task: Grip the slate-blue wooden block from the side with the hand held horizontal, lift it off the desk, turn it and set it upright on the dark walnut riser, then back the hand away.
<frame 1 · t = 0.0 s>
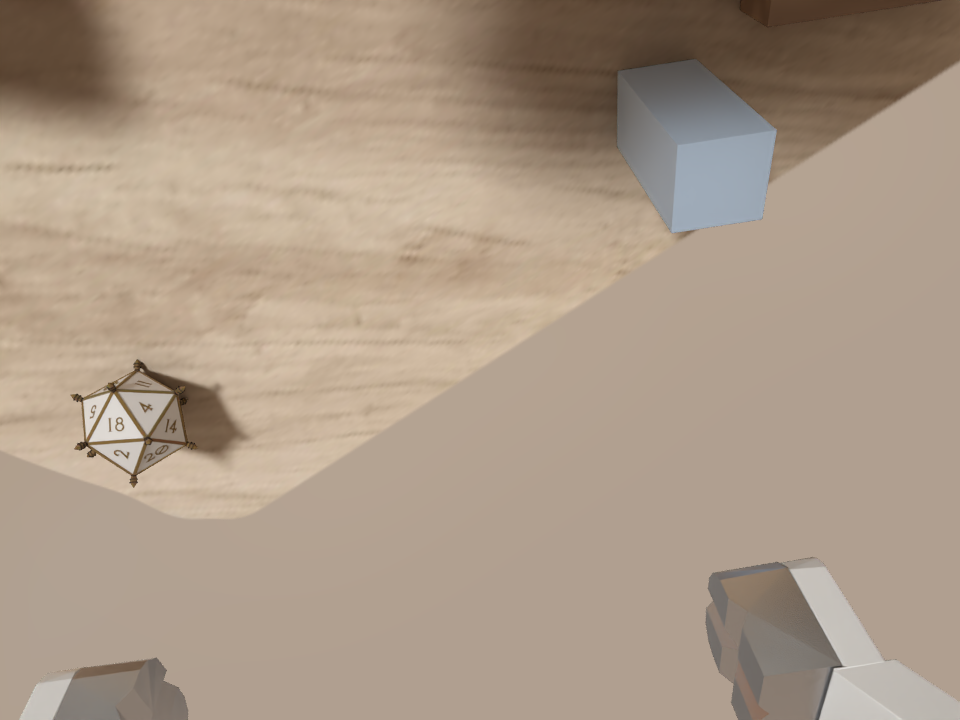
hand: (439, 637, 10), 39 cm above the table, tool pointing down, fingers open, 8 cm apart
slate block: (654, 104, 45), on the table
game die: (150, 386, 56), on the table
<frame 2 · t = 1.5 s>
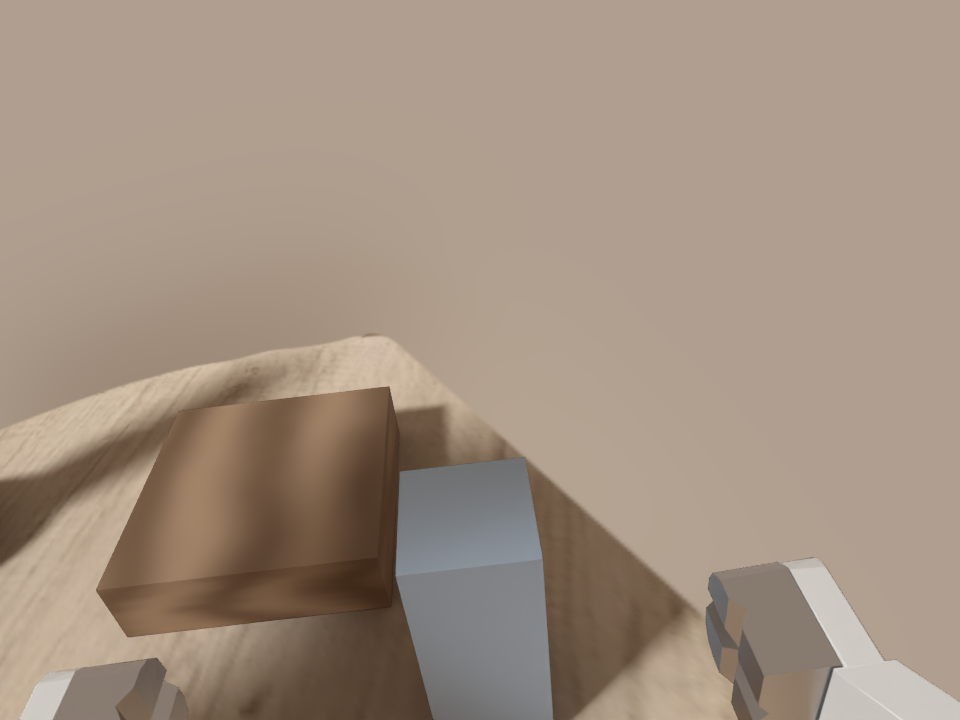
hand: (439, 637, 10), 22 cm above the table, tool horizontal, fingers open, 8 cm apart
slate block: (493, 687, 32), on the table
walnut riser: (281, 520, 42), on the table
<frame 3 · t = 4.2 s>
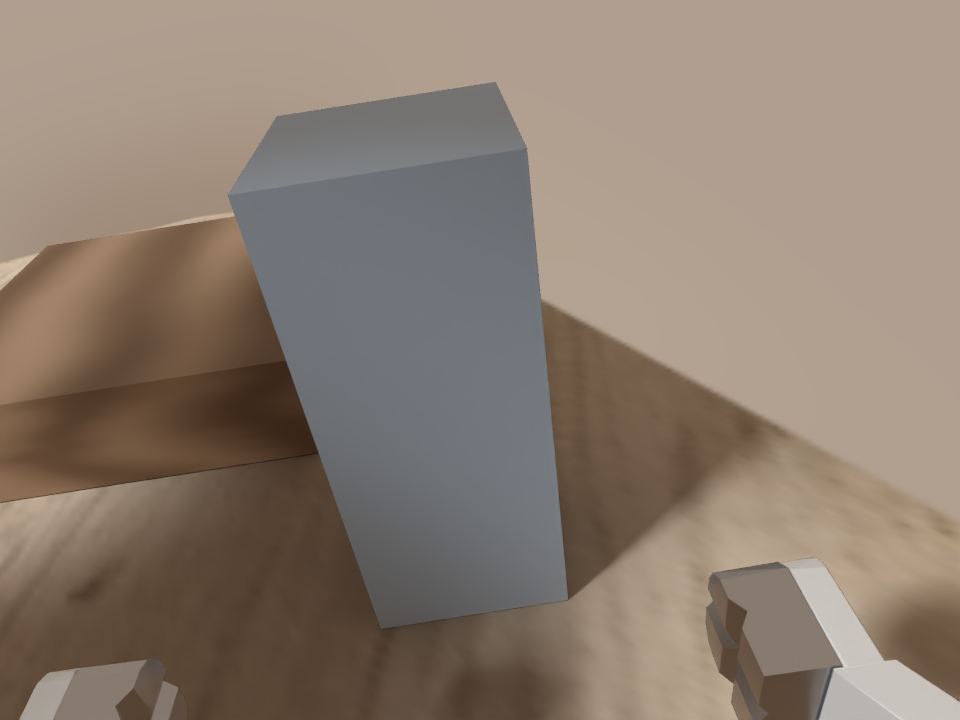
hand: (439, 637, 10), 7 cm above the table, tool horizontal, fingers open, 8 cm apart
slate block: (467, 541, 20), on the table
walnut riser: (178, 370, 30), on the table
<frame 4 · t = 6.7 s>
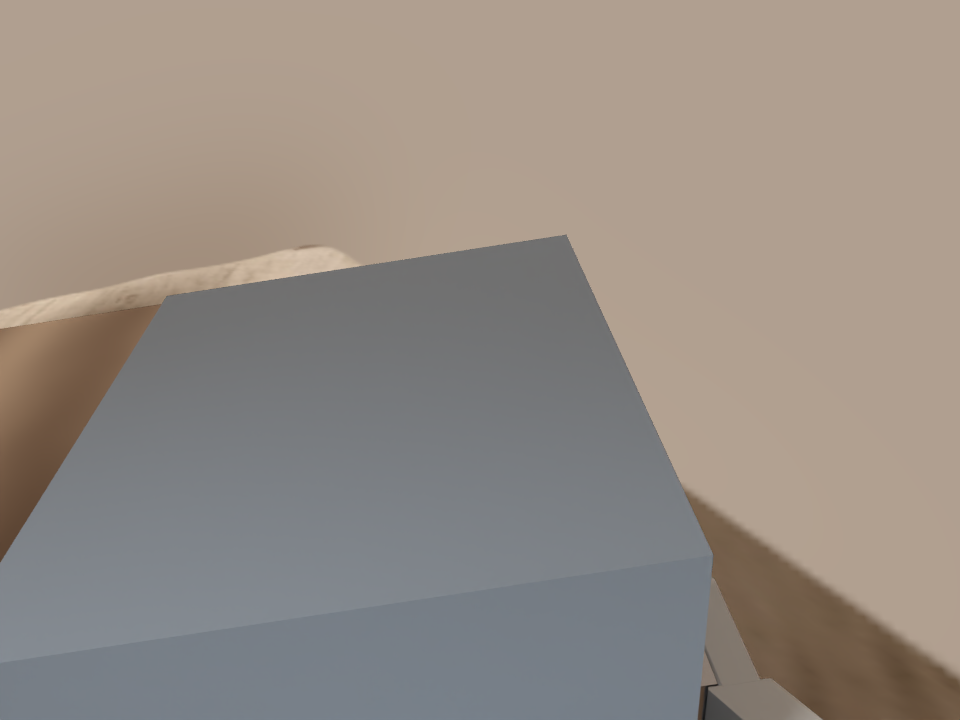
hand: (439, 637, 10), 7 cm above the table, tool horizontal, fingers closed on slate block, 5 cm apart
walnut riser: (109, 513, 23), on the table
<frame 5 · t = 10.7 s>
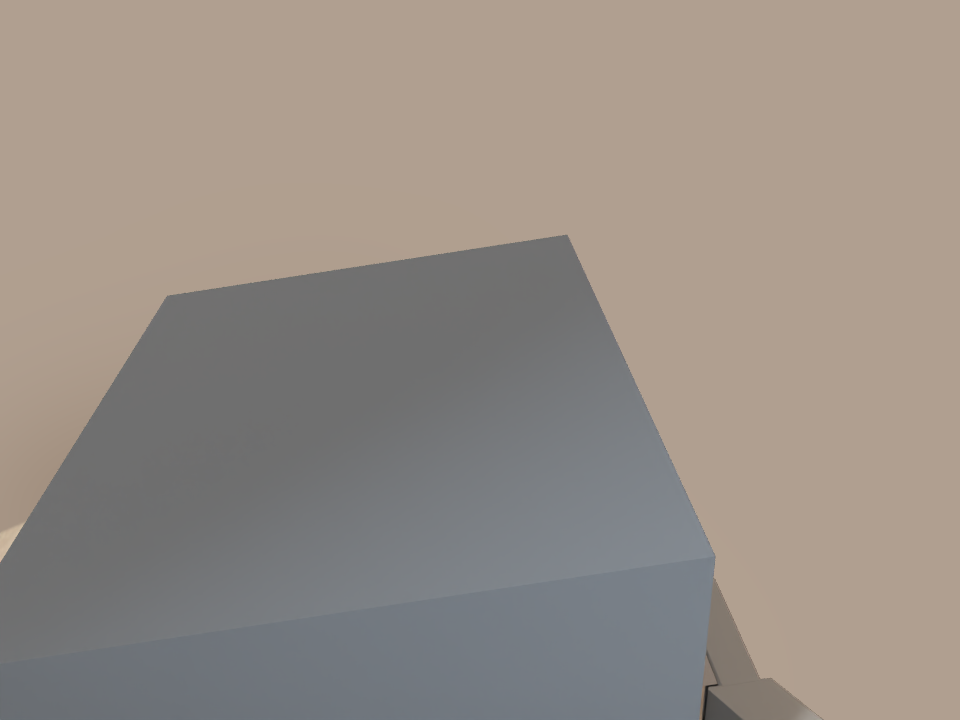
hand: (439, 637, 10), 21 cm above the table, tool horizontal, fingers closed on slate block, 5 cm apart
when the fingers open (12 cm above the table, at t = 15.1 s): slate block drops 1 cm, resting on walnut riser.
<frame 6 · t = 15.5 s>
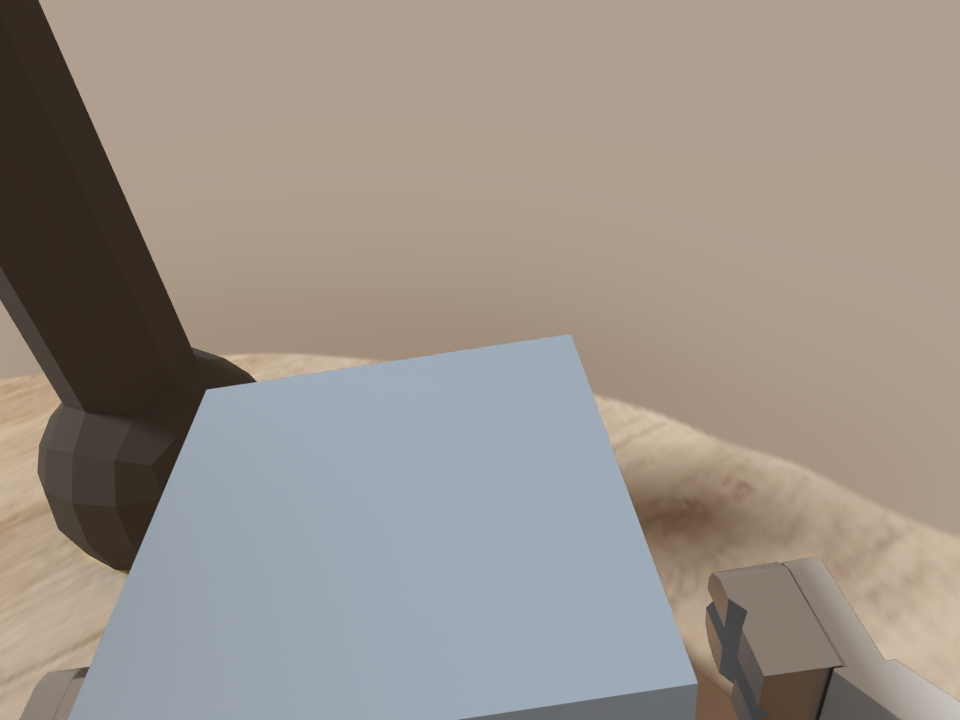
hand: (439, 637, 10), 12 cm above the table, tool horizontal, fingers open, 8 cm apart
flashlight: (189, 493, 32), on the table
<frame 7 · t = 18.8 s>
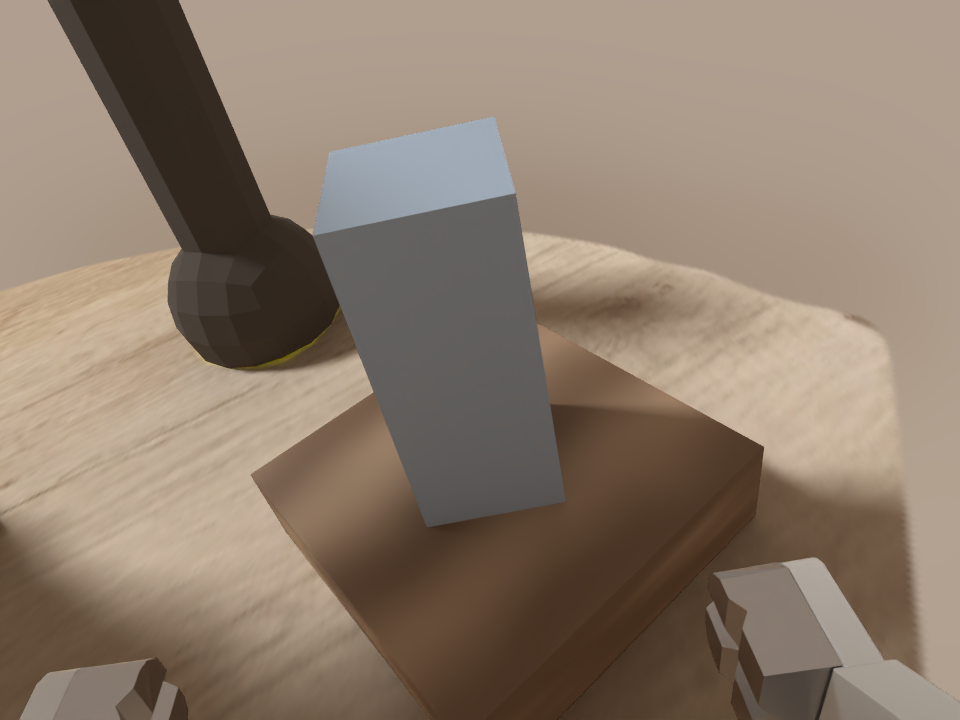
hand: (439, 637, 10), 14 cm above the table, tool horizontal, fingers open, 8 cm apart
slate block: (489, 461, 26), point 4 cm above the table, touching walnut riser
flashlight: (270, 322, 44), on the table
walnut riser: (505, 523, 29), on the table
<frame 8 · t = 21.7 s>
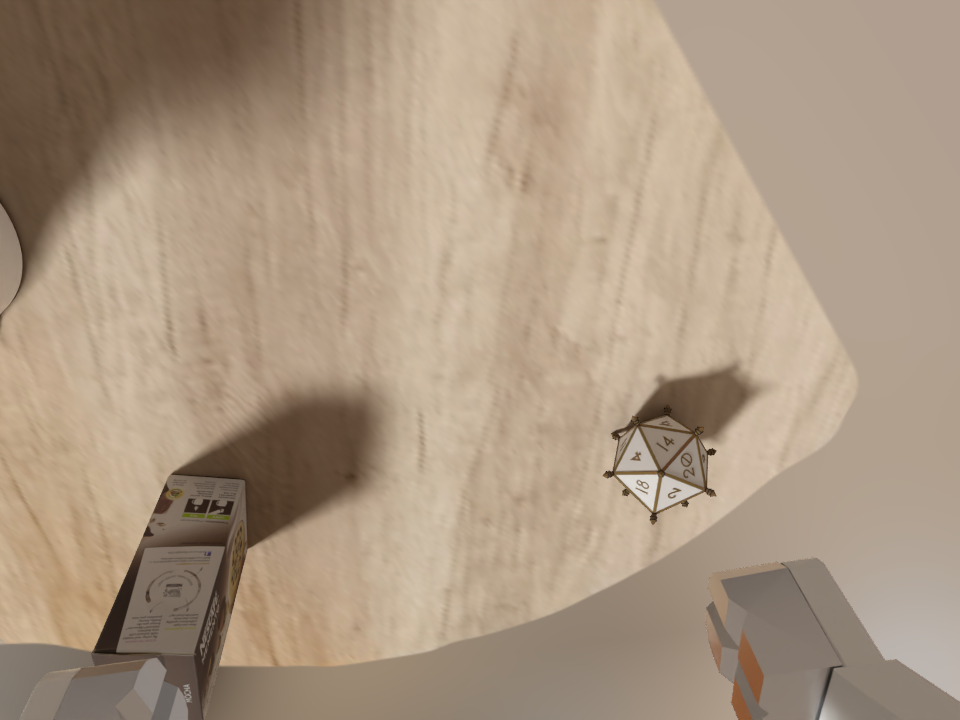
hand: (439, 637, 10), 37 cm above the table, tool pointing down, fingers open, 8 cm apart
game die: (645, 429, 58), on the table
coffee box: (210, 512, 59), on the table
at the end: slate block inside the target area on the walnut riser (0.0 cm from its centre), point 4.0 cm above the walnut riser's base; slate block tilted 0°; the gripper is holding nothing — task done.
